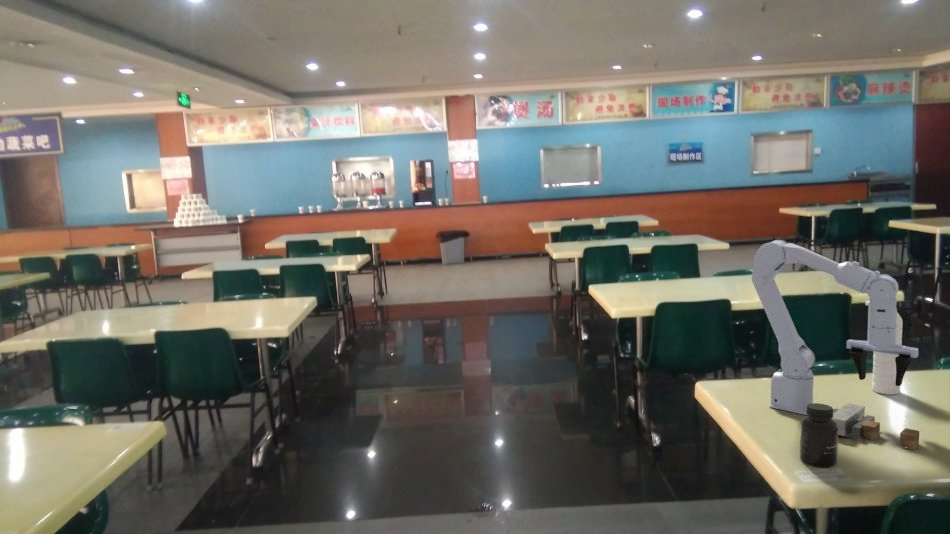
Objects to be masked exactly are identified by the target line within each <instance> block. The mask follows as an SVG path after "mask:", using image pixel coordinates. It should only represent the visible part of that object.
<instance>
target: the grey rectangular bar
mask: <svg viewBox="0 0 950 534" xmlns="http://www.w3.org/2000/svg"><path fill="white" fill-rule="evenodd" d="M838 409H839V410H838V411H836V412H835V413H833V418H832V419H833V420H834V421H835V422H836V423H837V425H838V436H840V435H842V436H841V437H844V436H846V435H847V434H848V433H850V432H851V431H852V426H854V425H855V424H856V423H858V422H859V421H860V420H861V419H863V418H864V417H865V414H866V413H865V409H866V408H865V405H858V404H854V403H849V402H848V403H846V404H845V405H843V406H842V407H841V408H838Z"/></svg>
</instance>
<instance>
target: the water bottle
mask: <svg viewBox="0 0 950 534" xmlns="http://www.w3.org/2000/svg"><path fill="white" fill-rule="evenodd" d="M864 303H865V306H868V307H869V305H870V300H867V301H865V302H864ZM903 324H904V323H903V319H902V317H901V315H900V313H899V312H898V311H897V323H896V344H898V345H902V343H903V342H902V341H903V340H902V339H903ZM872 353H873V354H872V355H873V356H872V360H873V362H872V366H873V367H872V384H871V385H872V386H871V390H872V391H873V392H874V393H876V394H877V393H878V394H881V395H890V396H893V395H899V394H900V392H901V385H900V386H896V382H895V381H896V362H895V358H896V357H897V356H899V355H896V354H888V353H881V352H874V351H872Z"/></svg>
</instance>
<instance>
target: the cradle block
mask: <svg viewBox="0 0 950 534" xmlns="http://www.w3.org/2000/svg"><path fill="white" fill-rule="evenodd" d="M839 409H840V408H833V413H835V412H836V411H838V410H839ZM866 420H870V421H875V420H876V419H875V416H873V415H868V414H867V415H866V416H865V415H864V418H863V419H861V420H860V421H859V422H858V423H856V424H855V425H854V426H852V431H851V432H850V433H848V434H847V435H846V436H845V438H848V437H850V438H849V439H853V438H855V439H854V440H857V439H858V440H857V441H862V440H864V439H865V438H864V434H863V426H862V425H861V424H863V423H864V422H865V421H866ZM875 422H876V421H875ZM841 437H843V436H842V435H841Z"/></svg>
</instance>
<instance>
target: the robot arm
mask: <svg viewBox="0 0 950 534" xmlns="http://www.w3.org/2000/svg"><path fill="white" fill-rule="evenodd" d="M792 264H793V265H794V264H802V265H805V266H808V267H809V268H812V269H816V270H817V271H818V270H819V271H820V272H823V273H826V274H828V275H831V276H833V278H834V280H835V282H836V283H837V284H839V285H841V286H845V287H847V288H848V289H852V290H854V291H856V292H858V293H861V294H867V296H868V297H869V301H870V305H869V304H868V305H869V306H868V308H867V309H868V311H867V340H859V339H848V340H846V347H845V348H846V349H849V350H850V351H849V355H850V358H851V359H852V361H853V362H854V364H855V367H856V369H857V370H856V371H857V373H858V378H859V380H865V379H866V376H867V367H866V366H867V365H866V364H867V356H868V352H873V351H874V352H881V353H888V354H896V355H899V356H897V357H896V358H895V362H896V381H895V382H896V386H900V387H901V386H902V384H903V379H904V376H905V374H906V371H907V370H908V369H909V366H910V365H911V363H912V361H913V360H914V359H916V358H918V357H919V348H918V347H911V346H906V345H902V344H901V345H898V344H896V323H897V312H898V307H897V302H898V300H897V297H896V296H897V294H898V291H899V283H898V282H897V280H896V279H895V278H893V277H892V276H891V275H890V274H885V273H884V274H883V273H882V274H881V272H880V271H878V270H875V271H873V270H871V269H869V268H866V267H863V266H861V265H860V263H859V262H857V260H856V261H855V260H854V261H852V262H851V261H847V260H846V261H844V262H840V263H839V262H837V261H835V260H832V259H830V258H828V257H825V256H823V255H822V254H818V253H817V252H815V251H812V250H811V249H808V248H806V247H803V246H800V245H798V244H795V243H791V242H786V241H785V240H784V239H783V240H782V239H775V240H772V241H771V242H767V243H763V244H762V245H761V246H760V247H759V248H758V249H757V251H756V253H755V255H754V256H753V267H752V268H753V269H752V274H751V281H752V284H753V286H754V288H755V291H756V293H757V296H758V298H759V300H760V302H761V305H762V307H763V310H764V312H765V314H766V316H767V319H768V321H769V323H770V327H771V328H772V331H773V333H774V335H775V337H776V339H777V342H778V353H779V356H780V368H781V370H782V371H775V372H774V373H773V375H772V378H771V382H770V404H769V408H772V409H777V410H782V411H785V412H791V413H795V414H800V415H804V416H808V415H807V414H806V411H807V405H808V404H811V403H814V373H813V372H812V369H811V368H812V367H813V366H814V364H815V362H816V357H815V354H814V352H813V350H811V349H810V348H809V347H808V346H807V345H806V343H805V341H804V339H802V337H801V336H800V335H799V333H798V331H797V329H796V327H795V324H794V321H793V319H792V317H791V315H790V313H789V310H788V308H787V306H786V303H785V302H784V299H783V296H782V294H781V292H780V290H779V287H778V285H777V283H776V281H775V278H776V276H777V274H778V273H779V271H780V269H781V268H782V267H783V266H784V265H792ZM874 352H873V353H874Z"/></svg>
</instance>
